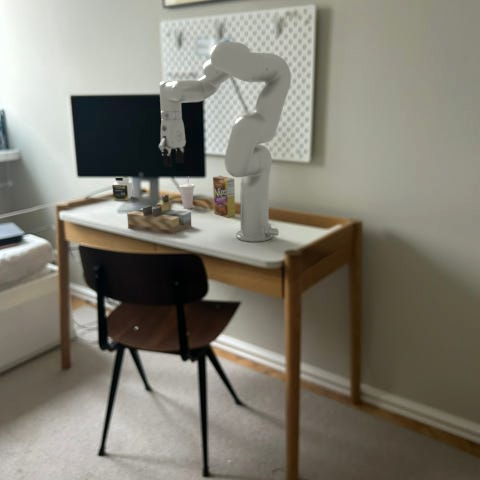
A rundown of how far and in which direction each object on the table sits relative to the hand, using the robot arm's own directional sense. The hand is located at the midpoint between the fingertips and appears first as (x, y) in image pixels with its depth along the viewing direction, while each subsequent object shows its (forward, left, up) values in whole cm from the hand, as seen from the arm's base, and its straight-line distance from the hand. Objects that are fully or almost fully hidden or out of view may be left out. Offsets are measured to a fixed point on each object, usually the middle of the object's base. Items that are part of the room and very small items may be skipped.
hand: (173, 164), depth 195 cm
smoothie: (+7, -19, -22) cm, 30 cm away
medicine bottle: (+44, -22, -22) cm, 54 cm away
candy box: (-13, -15, -22) cm, 30 cm away
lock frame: (0, +11, -22) cm, 24 cm away
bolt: (0, +8, -16) cm, 18 cm away
